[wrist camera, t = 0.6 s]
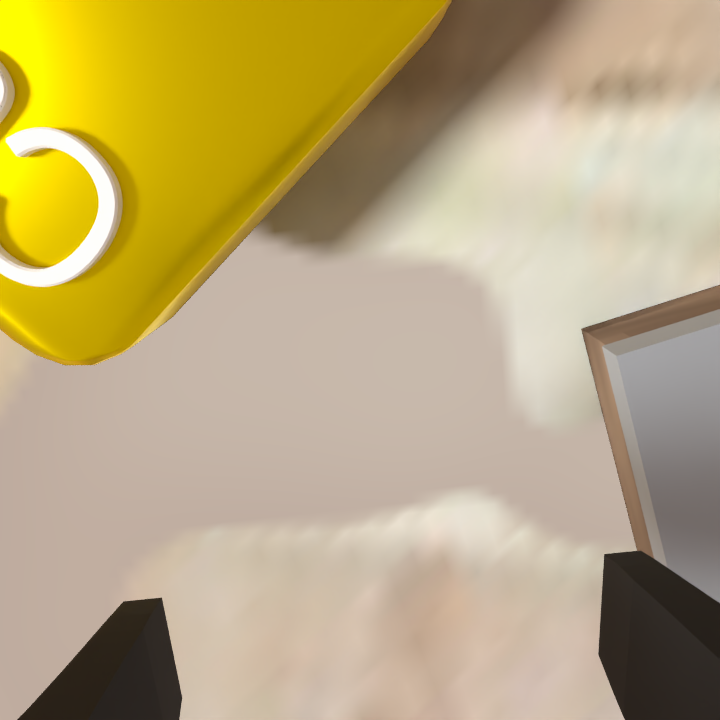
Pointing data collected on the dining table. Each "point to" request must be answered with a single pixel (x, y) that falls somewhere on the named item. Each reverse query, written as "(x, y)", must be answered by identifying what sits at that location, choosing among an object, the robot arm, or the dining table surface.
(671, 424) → the lid
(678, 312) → the box
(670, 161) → the dining table surface
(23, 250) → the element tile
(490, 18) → the dining table surface
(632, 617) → the robot arm
